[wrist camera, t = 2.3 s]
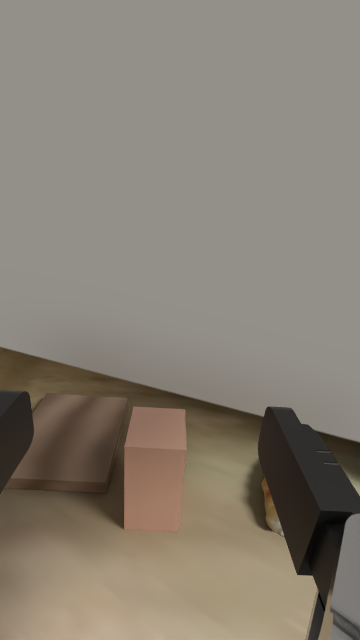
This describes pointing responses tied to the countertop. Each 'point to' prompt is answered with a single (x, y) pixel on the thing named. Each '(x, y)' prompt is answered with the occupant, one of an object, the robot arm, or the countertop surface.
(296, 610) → the countertop surface
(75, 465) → the walnut board
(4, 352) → the countertop surface
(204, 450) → the countertop surface
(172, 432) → the tall block
